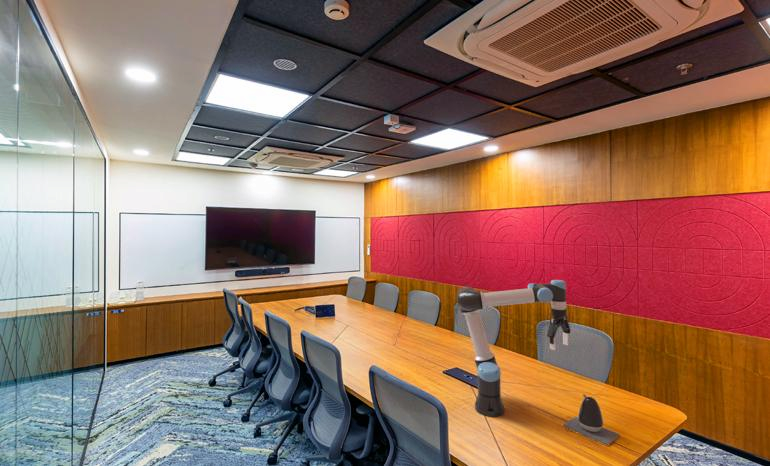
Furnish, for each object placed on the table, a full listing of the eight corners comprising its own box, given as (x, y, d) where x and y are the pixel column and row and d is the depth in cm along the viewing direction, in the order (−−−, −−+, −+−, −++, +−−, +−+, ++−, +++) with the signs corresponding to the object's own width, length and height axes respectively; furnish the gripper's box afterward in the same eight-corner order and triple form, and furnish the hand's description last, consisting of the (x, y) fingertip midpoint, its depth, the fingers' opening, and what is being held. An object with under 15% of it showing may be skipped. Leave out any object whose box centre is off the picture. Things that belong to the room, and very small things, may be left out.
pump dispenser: (594, 423, 173) (593, 391, 173) (608, 435, 162) (607, 401, 162) (573, 423, 172) (573, 392, 173) (586, 435, 162) (586, 402, 162)
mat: (607, 446, 155) (607, 444, 155) (562, 426, 172) (562, 424, 172) (619, 436, 163) (619, 434, 163) (575, 418, 179) (575, 416, 179)
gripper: (563, 304, 204) (564, 341, 204) (539, 310, 189) (540, 349, 189) (576, 306, 198) (577, 344, 198) (553, 312, 183) (553, 353, 183)
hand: (559, 347), depth 194 cm, fingers open, 13 cm apart
